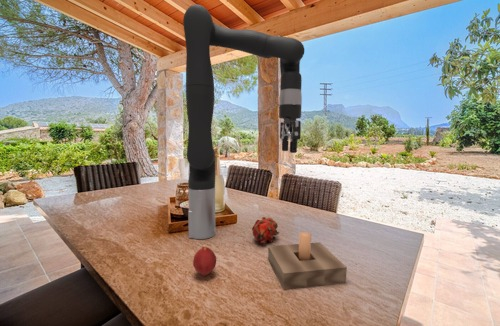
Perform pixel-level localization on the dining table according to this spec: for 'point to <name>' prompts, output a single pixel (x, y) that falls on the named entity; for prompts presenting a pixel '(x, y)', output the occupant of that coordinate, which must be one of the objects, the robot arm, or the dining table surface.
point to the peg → (304, 246)
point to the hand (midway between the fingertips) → (288, 151)
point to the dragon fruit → (265, 230)
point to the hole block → (305, 266)
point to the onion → (204, 261)
